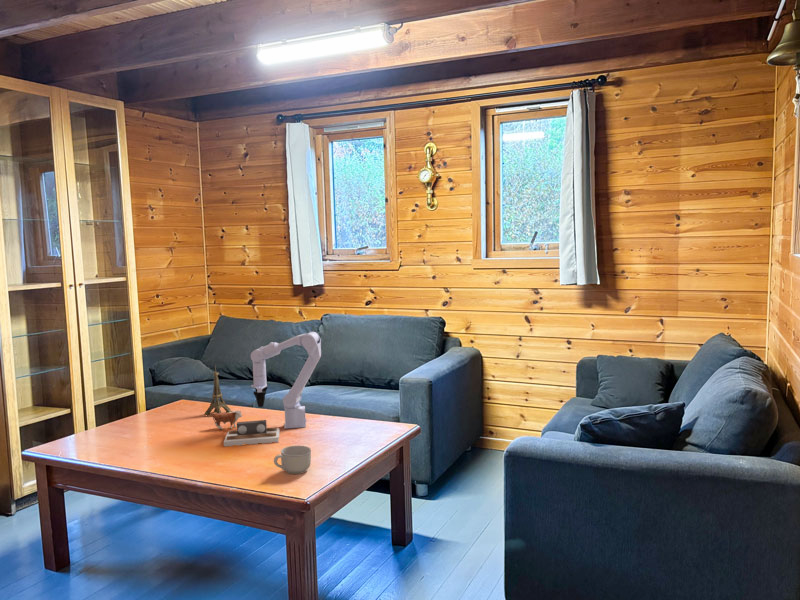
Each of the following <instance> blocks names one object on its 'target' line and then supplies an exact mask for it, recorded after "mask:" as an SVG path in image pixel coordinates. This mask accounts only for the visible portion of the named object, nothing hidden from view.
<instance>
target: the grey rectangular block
mask: <svg viewBox="0 0 800 600" xmlns="http://www.w3.org/2000/svg"><path fill="white" fill-rule="evenodd" d="M236 426H237V427H236V430H237V435H249V434H262V433H267V428H268V427H267V420H266V419H261V420H248V421H236Z"/></svg>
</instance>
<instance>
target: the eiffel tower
mask: <svg viewBox="0 0 800 600" xmlns="http://www.w3.org/2000/svg"><path fill="white" fill-rule="evenodd" d="M214 367H215V371H214V372H213V373H212V376H213V391H212V394H211V397H212V398H211V401H210V403H209V406H208V408H207V409H206V410H205V412H204V414H203V415H207V416H206V417H209V416H211V415H210V414H211V412H213V411H214V412H213V413H222V410H221V408H223V410H224V411H225V413H229V412H233V410H231V408H230V407H229V406H228V405H227V404H226V401H224V398H223V393H222V391H221V387H220V380H219V371H218V372H217V365H216V364H215V366H214ZM208 415H209V416H208Z"/></svg>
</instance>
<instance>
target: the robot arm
mask: <svg viewBox="0 0 800 600" xmlns="http://www.w3.org/2000/svg"><path fill="white" fill-rule="evenodd" d="M295 345H296V346H300V347H303V348H304V349H305V350H306V352H307V355H308V357H307V359H306V361H305V363H304V364H303V367H302V368H301V370H300V373H299V374H298V376H297V378H296V379H295V381H294V383H293V385H292V387H291V388H290V390H289V391H288V392H287V394H285V395H284V396H283V397H282V404H283V407H284V426H283V427H284V430H285V429H296V428H297V429H298V428H306V426H307V418H306V406H305V405H301V403H300V402H301V400H302V395H303V392H304V389H305V386H306V384H307V383H308V381H309V380H310V378H311V375H312V374H313V372H314V371H315V369H316V366H317V364H318V363H319V361H320V359H321V356H322V347H321V346H322V339H321V337H320V335H319V333H317V332H315V331H309V332H308V333H307V332H306V333H302V334H299V335H296V336H293V337H291V338H289V339H287V340H284V341H281V342H280V343H279V342H273V341H271V342H269V344H266V345H264V346H263V345H262V346H260V347H259V348H257V349H254V350H253V351H251V353H250V359H251V361H252V375H253V377H252V379H253V384H251V385H250V386H251V388H254V390H255V391H253V395H254V397H255V399H256V402H257V407H258V408H263V407H264V405H265V404H264V403H265V399H266V393H267V389H268V384H267V383H268V382H267V364H266V360H269V359H270V358H273V357H276V356H278V355H280V354H281V351H282V350H285V349H287V348H291V347H293V346H295Z"/></svg>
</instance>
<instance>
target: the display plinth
mask: <svg viewBox="0 0 800 600" xmlns="http://www.w3.org/2000/svg"><path fill="white" fill-rule="evenodd" d="M279 441H280V427H279V428H278V427H277V426H274V427H272V426H271V427H267V433H262V434H249V435H237V429H236V430H235V429H232V430H228V431H227V432H226V435H225V438H224V440H223V446H224V447H234V446H233V445H237V446H244V445H243V444H249V445H259V444H258V443H262V444H271V443H272V442H274V443H279Z"/></svg>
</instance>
